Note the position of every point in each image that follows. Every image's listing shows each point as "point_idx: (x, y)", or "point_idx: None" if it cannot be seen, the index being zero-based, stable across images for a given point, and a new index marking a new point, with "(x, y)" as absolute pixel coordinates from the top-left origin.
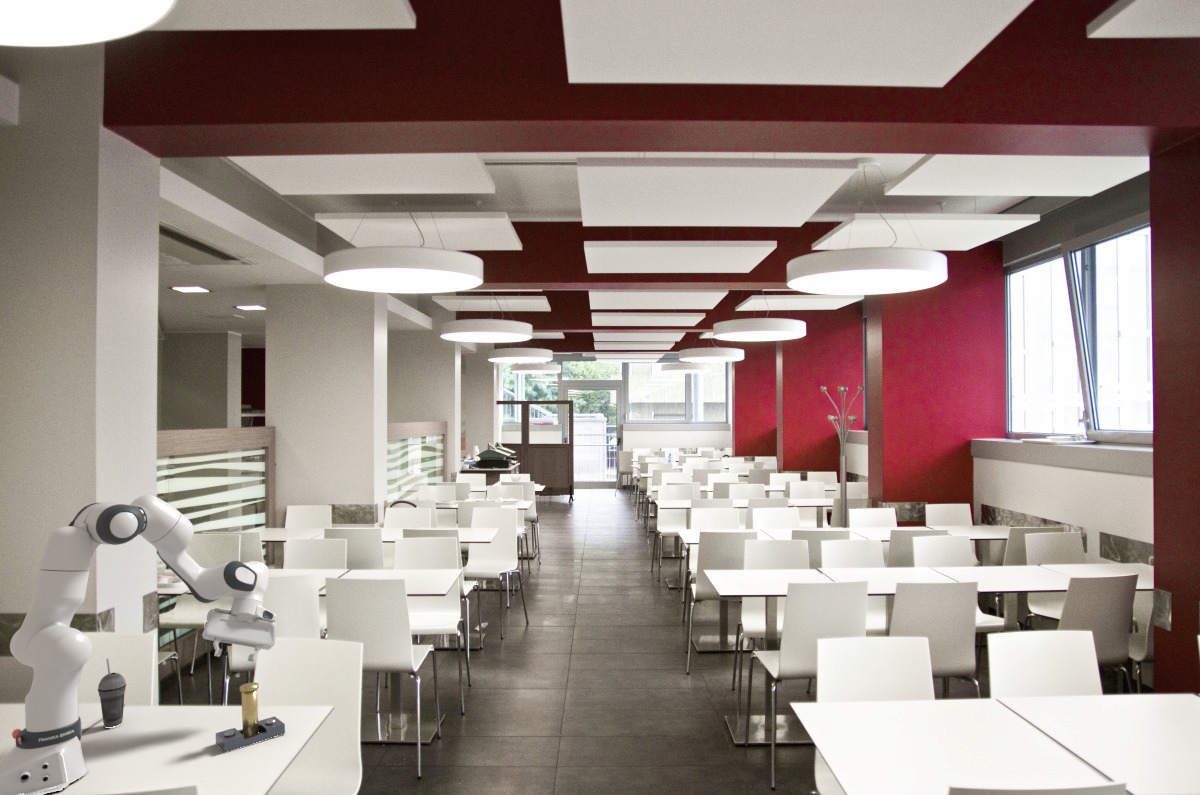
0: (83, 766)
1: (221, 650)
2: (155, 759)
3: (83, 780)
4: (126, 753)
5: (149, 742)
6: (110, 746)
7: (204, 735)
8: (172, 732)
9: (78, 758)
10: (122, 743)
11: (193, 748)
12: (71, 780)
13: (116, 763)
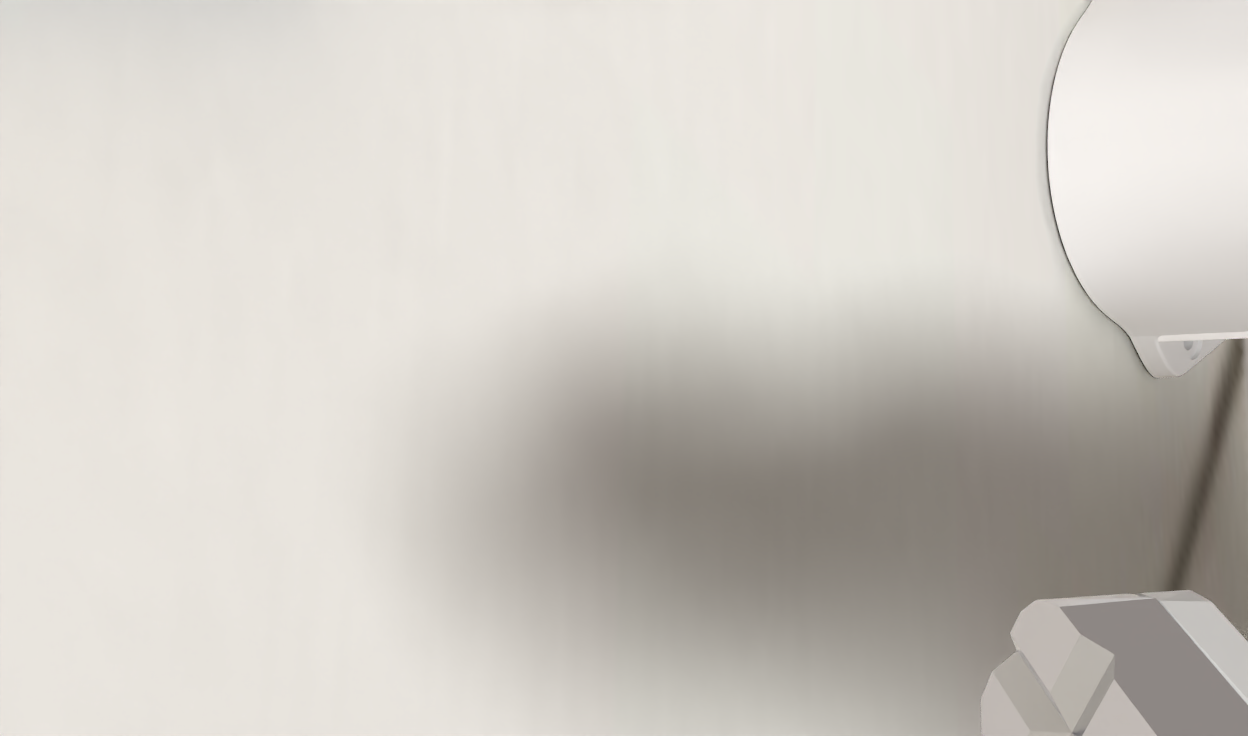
0: (1106, 93)
1: (1146, 708)
2: (758, 34)
3: (1050, 22)
4: (896, 332)
5: (784, 473)
6: (964, 555)
7: (402, 345)
8: (643, 625)
9: (1188, 56)
10: (914, 572)
11: (511, 42)
12: (1108, 1)
13: (937, 172)
